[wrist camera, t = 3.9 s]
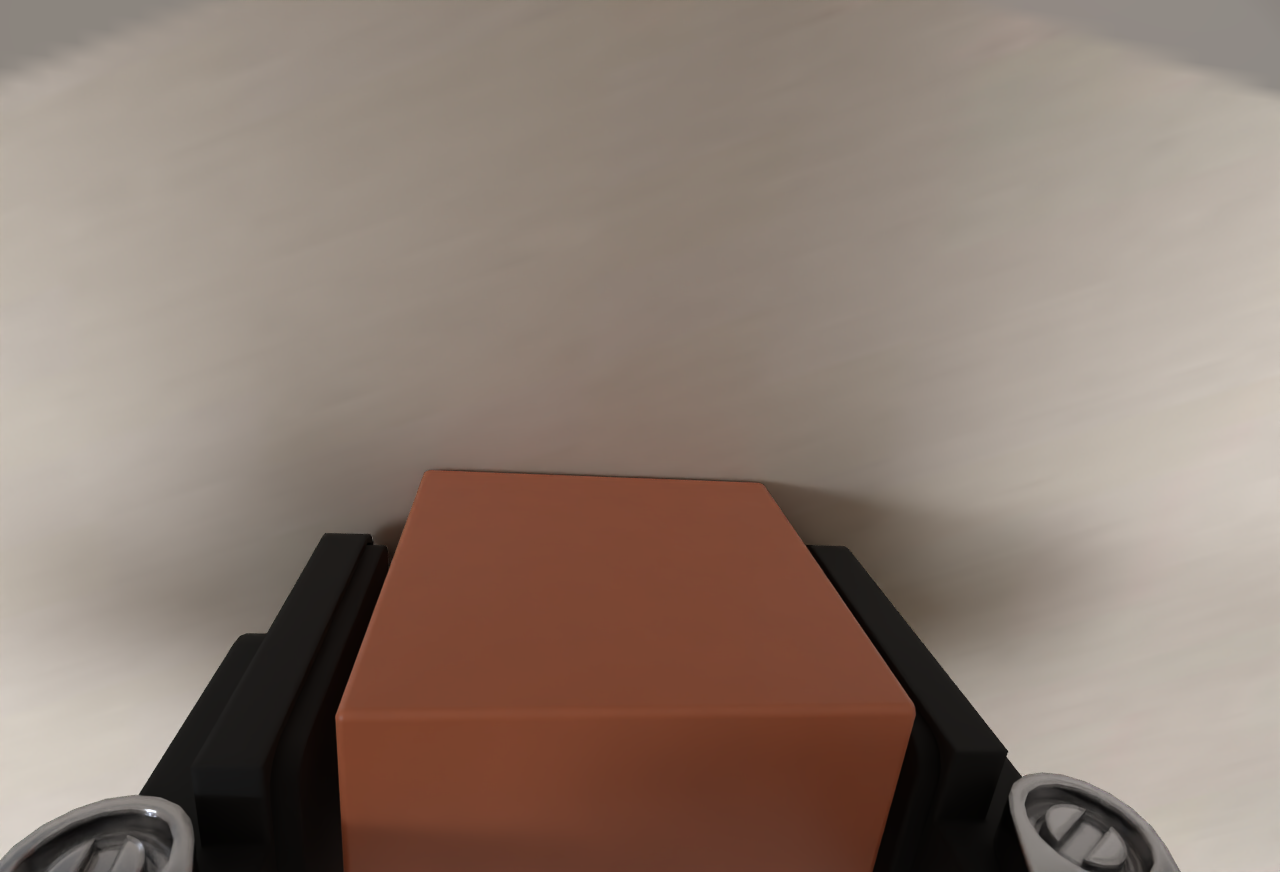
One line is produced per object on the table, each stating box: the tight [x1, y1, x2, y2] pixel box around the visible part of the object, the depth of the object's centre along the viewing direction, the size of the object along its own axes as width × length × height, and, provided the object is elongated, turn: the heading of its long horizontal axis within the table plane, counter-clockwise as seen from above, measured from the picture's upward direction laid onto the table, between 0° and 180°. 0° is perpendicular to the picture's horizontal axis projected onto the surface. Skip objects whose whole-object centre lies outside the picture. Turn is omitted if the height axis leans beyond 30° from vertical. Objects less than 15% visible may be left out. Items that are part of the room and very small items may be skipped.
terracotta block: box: [335, 470, 916, 872], centre depth 8 cm, size 4×4×4 cm
